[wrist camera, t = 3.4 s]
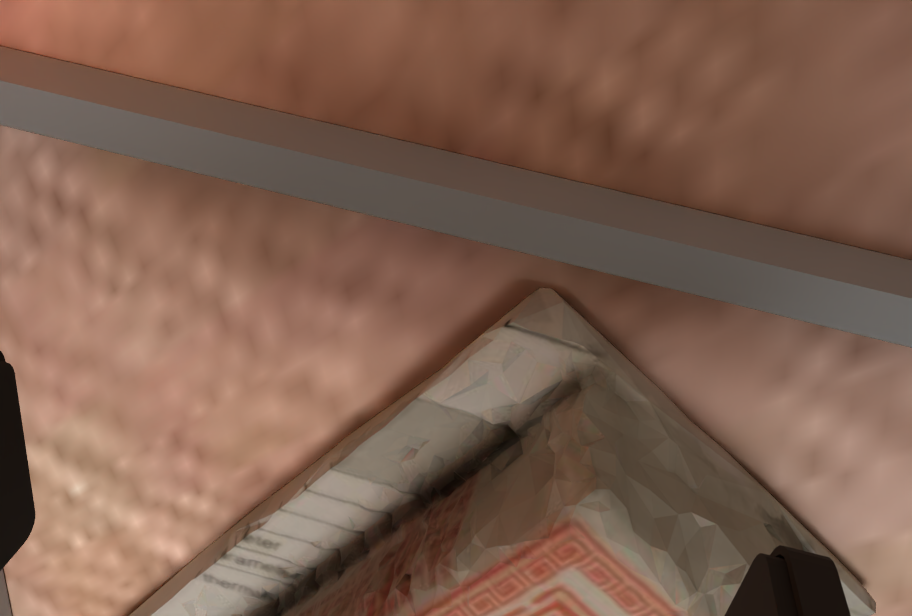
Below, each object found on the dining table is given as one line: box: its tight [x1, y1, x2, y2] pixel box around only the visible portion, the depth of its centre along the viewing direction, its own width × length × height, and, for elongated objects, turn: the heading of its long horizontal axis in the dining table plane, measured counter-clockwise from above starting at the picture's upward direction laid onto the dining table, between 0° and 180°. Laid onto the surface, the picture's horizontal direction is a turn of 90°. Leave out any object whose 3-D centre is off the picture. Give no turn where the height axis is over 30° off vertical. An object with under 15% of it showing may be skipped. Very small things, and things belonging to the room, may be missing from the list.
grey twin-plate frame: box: [0, 46, 912, 616], centre depth 17 cm, size 18×26×4 cm
